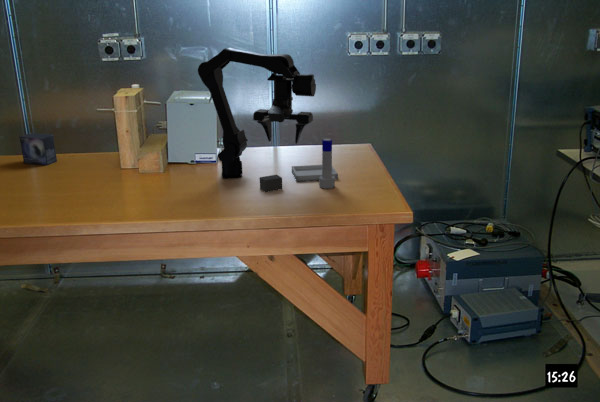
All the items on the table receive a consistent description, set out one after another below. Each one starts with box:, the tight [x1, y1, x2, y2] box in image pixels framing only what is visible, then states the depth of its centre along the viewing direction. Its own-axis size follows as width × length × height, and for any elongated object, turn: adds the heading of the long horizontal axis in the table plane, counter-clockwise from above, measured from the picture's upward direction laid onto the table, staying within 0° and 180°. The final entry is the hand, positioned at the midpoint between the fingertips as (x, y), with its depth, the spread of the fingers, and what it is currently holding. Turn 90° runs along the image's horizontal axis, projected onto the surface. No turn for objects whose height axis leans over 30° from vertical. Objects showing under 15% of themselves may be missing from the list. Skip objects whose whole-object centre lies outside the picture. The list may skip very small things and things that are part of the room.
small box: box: [19, 132, 58, 166], centre depth 232 cm, size 11×6×10 cm, turn 73°
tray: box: [291, 164, 339, 182], centre depth 213 cm, size 14×12×2 cm
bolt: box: [318, 138, 336, 190], centre depth 199 cm, size 16×5×5 cm
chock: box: [259, 174, 283, 193], centre depth 200 cm, size 6×4×4 cm, turn 118°
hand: (283, 142), depth 205 cm, fingers open, 9 cm apart
